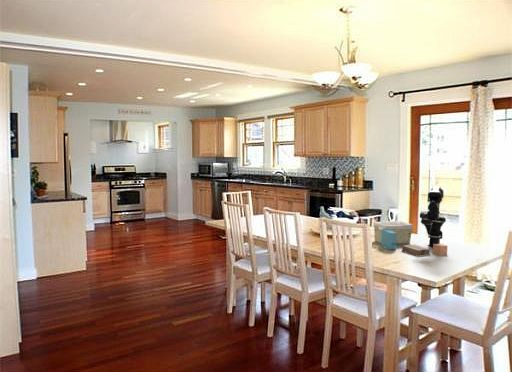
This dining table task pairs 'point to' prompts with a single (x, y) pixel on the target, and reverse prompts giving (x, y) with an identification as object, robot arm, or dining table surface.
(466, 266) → the dining table surface
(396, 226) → the storage basket
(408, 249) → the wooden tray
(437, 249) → the terracotta cube
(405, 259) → the dining table surface
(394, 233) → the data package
